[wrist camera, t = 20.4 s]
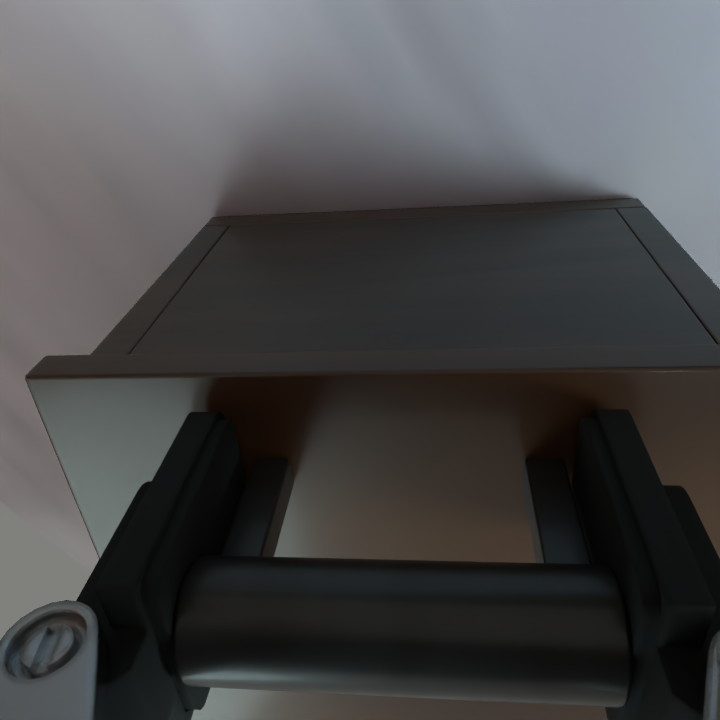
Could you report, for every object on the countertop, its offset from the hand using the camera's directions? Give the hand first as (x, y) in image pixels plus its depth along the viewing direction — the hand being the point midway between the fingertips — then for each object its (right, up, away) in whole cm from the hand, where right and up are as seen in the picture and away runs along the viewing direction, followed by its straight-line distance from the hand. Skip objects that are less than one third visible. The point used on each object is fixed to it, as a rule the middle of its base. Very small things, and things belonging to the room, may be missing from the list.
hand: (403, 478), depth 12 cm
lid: (+1, -4, +4) cm, 6 cm away
